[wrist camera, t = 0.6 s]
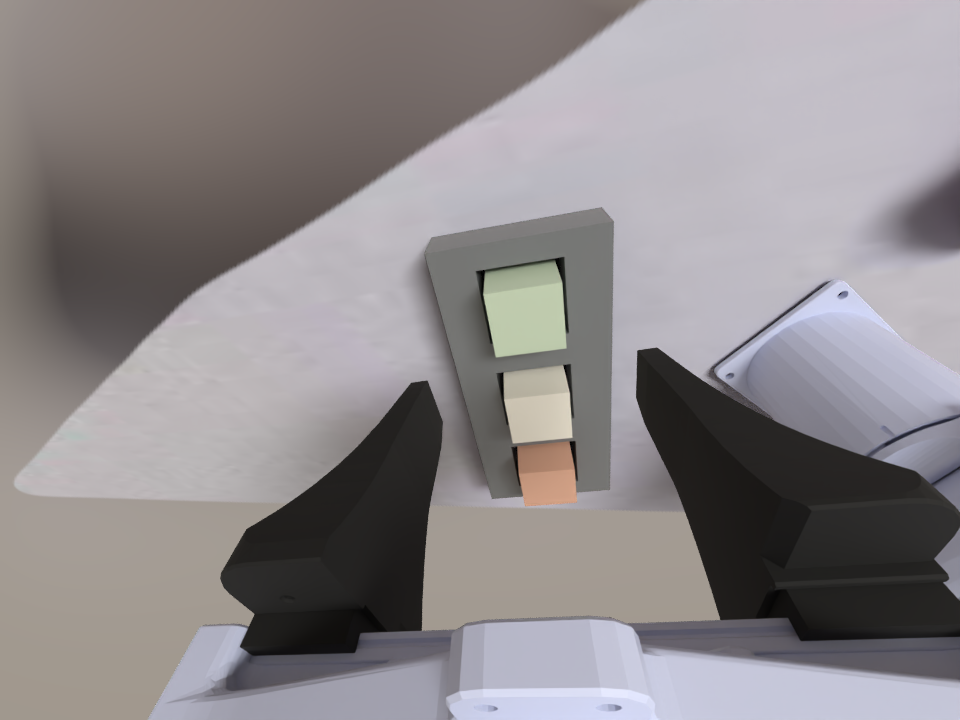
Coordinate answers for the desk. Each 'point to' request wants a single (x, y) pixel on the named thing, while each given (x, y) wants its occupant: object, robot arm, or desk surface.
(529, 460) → the terracotta button
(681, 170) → the desk surface
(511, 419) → the cream button
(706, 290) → the desk surface
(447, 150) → the desk surface
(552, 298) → the sage button
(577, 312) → the button panel
